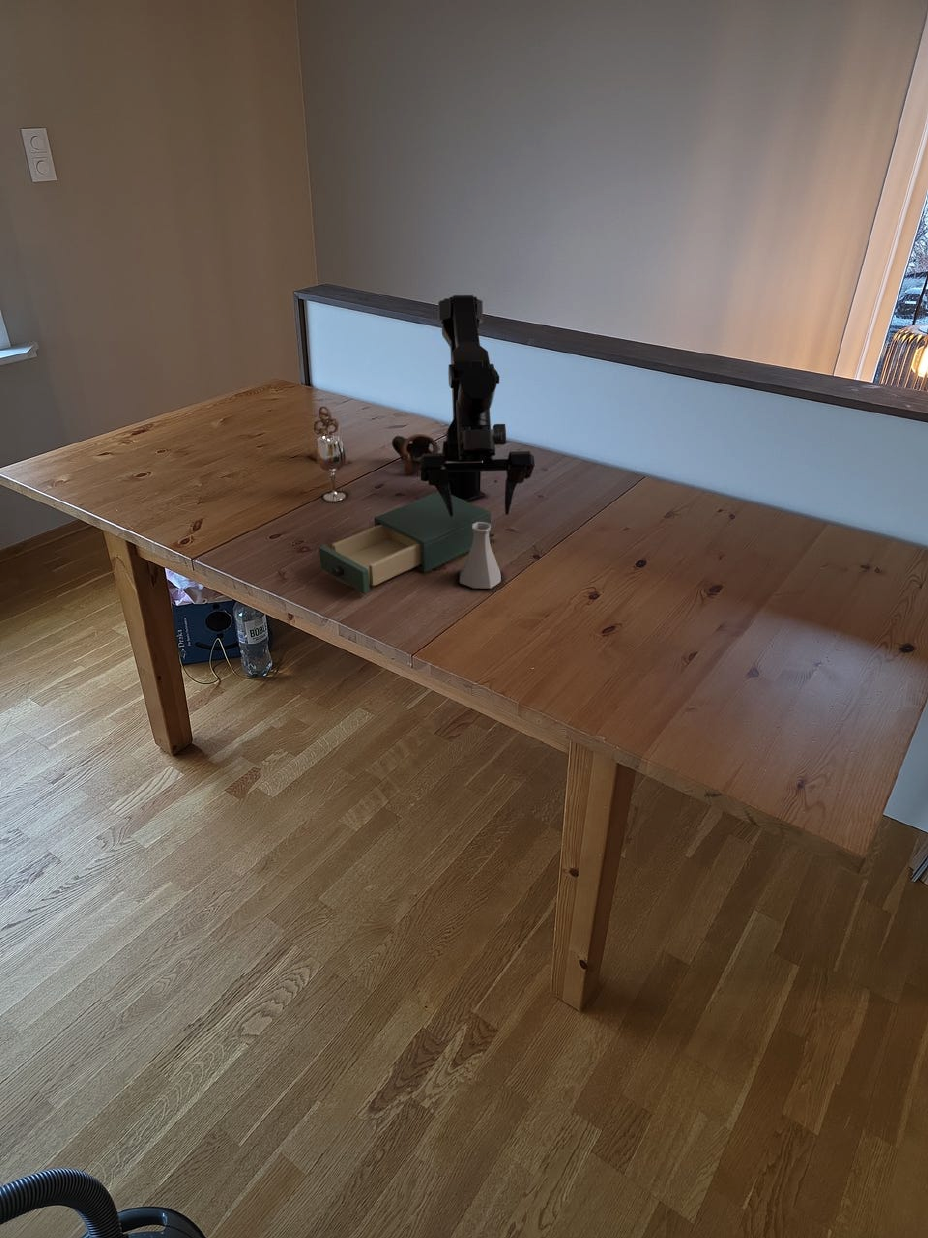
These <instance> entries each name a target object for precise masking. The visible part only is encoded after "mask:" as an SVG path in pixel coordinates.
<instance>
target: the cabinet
mask: <svg viewBox="0 0 928 1238" xmlns="http://www.w3.org/2000/svg"><path fill="white" fill-rule="evenodd" d="M451 499H452V505H453V516H450V515H449V512H448V510H447V508H446V505H445V503H444V501H443V499H442V497H441V495H440V494H439V492H438V491H436V492H434V493H432V494H428V495H426V496H424V497H421V498H419V499H417V500H414V501H412V502H409V503H407V504H404V505H402V506H399V507H397V508H395V509H392V510H389V511H387V512H384V513H381V514H380V515H377V516H374V519H373V520H374V527H375V526H377V525H380V524H382V525H384V526H386V527H388V528H390V529H392V530H394V531H396V532H398V533H400V534H402V535H404V536H406V537H408V538H410V539H412V540H414V541H416V542H418V543H420V544H422V545H421V546H422V564H420V565H418V566H415V567H414V568H415V569H416V570H419V571H421V572H423V573H426V572H429V571H431V570H433V569H435V568H438V567H439V566H441V565H444V564H446V563H448V562H450V561H452V560H454V559H456V558H458V557H461V556H462V555H464V554H467V553H469V551H470V548H471V546H472V541H473V537H474V532H473V531H472V525H473V524H474V523H476V522H486V523H488V524H491V525H492V512H491V511H489V510H487V509H486V508H483V507H480V506H478V505H476V504H474V503H471V502H470V501H468V502H467V501H464V500H462V499H460V498H457V497H455V496H453V495H451ZM489 540H490V541H491V531H489Z"/></svg>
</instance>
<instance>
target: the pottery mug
mask: <svg viewBox="0 0 928 1238" xmlns="http://www.w3.org/2000/svg"><path fill="white" fill-rule="evenodd" d="M437 443H438V442H437V441H435V439H433V437H432V436H429V435H427V434H423V433H422V434H421V433H420V434H419V433H416V434H412V435H410V436H408V437H404V436H401V435H397V436H394V437H393V439H392V441H391V446H392V448H393V449H394V450H395V452H396V453H397V454H398V455H399V457H400V460H401V461H403V462H405V464H404V467H403V470H404V472H405V473H406V474H407V475H411V474H412V473H413V472H419V471H420V462H421V456H422V455H423V454H427V453H439V451H440V450H441V448H440V446H439V445H438V444H437ZM431 445H432V449H430V446H431Z"/></svg>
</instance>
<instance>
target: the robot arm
mask: <svg viewBox="0 0 928 1238" xmlns="http://www.w3.org/2000/svg"><path fill="white" fill-rule="evenodd" d="M483 304H484V303H483V300H481V299H480V298H479V299H478V298H477V296H474V295H473V294H453V295H452V296H449V298H448V297H447V298H445V297H444V298H443V299H442V300H439V301H438V304H437V324H439V325H441V336H442V338H443V339H444V340H445V342H446V343H447V345H448V347H449V349H450V364H448V371H447V375H448V377H447V378H448V387H450V389H451V396H452V397H451V398H452V399H451V400H452V401H451V403H452V421H451V423H450V424H449V426H448V428H447V430H446V434H445V440H443V442H442V449H441V452H438V453H427V454H423V455H422V456H421V457H420V458H421V462H420V470H419V471H420V473H419V474H420V481H422V482H428V486H434V487H435V489H436V490H437V492H439V494H440V495H441V497H442V499H443V501H444V503H445V505H446V508H447V510H448V512H449V515H450V516H453V505H452V499H451V495H453V496H455V497H457V498H460V499H462V500H464V501H467V502H472V501H474V500H478V499H481V498H485V497H486V494H485V493H484V492H483V491H481V481H482V480H481V479H482V477H481V476H482V474H481V473H482V472H506V479H505V484H504V485H505V487H504V488H505V489H504V513H505V516H508V515H509V513H510V508H511V506H512V505H511V504H512V500H513V496H514V493H515V491H516V490H515V489H516V487H517V484H523V483H524V479H525V480H526V479H530V478H531V476H532V474H533V472H534V471H533V470H534V468H535V456H534V454H533V453H532V452H531V451H529V450H526V451H525V450H524V451H522V450H518V451H509V453H508V455H507V458H494V456H495V455H496V445H498V446H499V445H506V443H507V428H506V423H494V424H493V425H492V419H491V408H492V405H493V401H494V396H495V392H496V388H497V385H499V384H500V375H499V373H498V371H497V370H496V368H495V365H494V363H491V359H490V355H489V351H488V350H487V349H485V348H484V347H483V346H481V342H480V334H479V326H480V324H482V323H483V321H484V313H483V312H484V311H483V310H484V309H483V306H484V305H483Z"/></svg>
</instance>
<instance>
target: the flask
mask: <svg viewBox="0 0 928 1238" xmlns="http://www.w3.org/2000/svg"><path fill="white" fill-rule="evenodd" d="M491 530H492V523H491V524H488V523H486V522H476V523H474V524H473V525H472V531H473V532H474V537H473V541H472V546H471V548H470V551H469V552H468V554H467V557H466V559H465V561H464V564H463V566H462V568H461V571H460V573H459V584H462V585H464V586H467V587H469V588H472V589H483V590H484V589H489V590H490V589H493V588H494V587H496V586H497V585H498V584H500V583H501V582H502V578H501V571H500V568H499V565H498V562H497V560H496V558H495V554H494V552H493V549H492V546H491V539H490V540H489V531H491Z"/></svg>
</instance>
